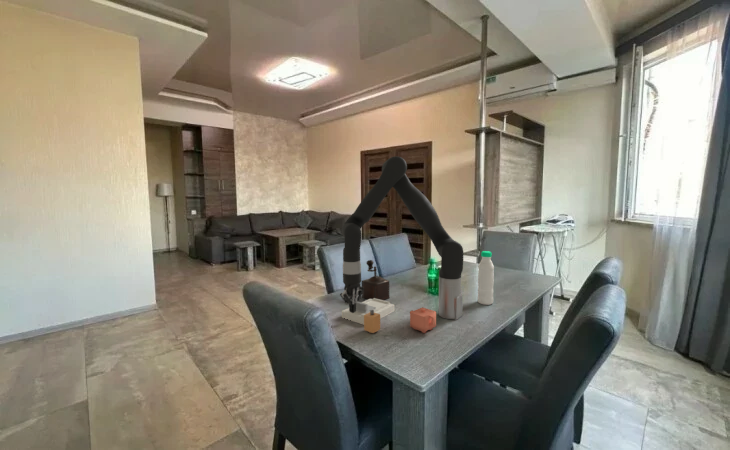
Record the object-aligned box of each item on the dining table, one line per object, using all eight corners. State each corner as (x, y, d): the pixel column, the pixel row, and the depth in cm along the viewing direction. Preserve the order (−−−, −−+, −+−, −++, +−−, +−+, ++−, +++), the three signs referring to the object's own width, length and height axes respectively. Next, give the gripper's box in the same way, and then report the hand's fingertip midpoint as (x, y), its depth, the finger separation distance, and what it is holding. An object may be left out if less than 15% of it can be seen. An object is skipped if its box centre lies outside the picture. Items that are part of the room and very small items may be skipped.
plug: (380, 331, 126) (380, 310, 125) (373, 335, 123) (373, 313, 122) (371, 328, 129) (371, 307, 128) (364, 332, 126) (363, 311, 125)
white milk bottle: (476, 304, 154) (477, 252, 152) (478, 299, 161) (479, 249, 158) (492, 306, 151) (493, 253, 149) (493, 301, 157) (495, 250, 155)
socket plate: (394, 311, 147) (394, 303, 147) (367, 325, 131) (366, 316, 131) (370, 304, 156) (370, 297, 155) (341, 317, 140) (341, 309, 140)
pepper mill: (391, 298, 165) (390, 263, 163) (375, 303, 158) (374, 267, 156) (370, 291, 177) (370, 258, 175) (355, 295, 169) (354, 262, 168)
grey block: (375, 309, 141) (375, 300, 141) (365, 313, 136) (365, 305, 136) (363, 305, 146) (363, 297, 145) (353, 310, 140) (352, 301, 140)
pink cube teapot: (416, 321, 135) (416, 302, 134) (440, 330, 126) (440, 310, 125) (403, 327, 130) (403, 307, 129) (428, 336, 121) (428, 315, 120)
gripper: (348, 276, 125) (349, 319, 127) (369, 269, 136) (369, 309, 138) (334, 273, 130) (335, 314, 132) (355, 267, 140) (356, 305, 142)
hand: (352, 312), depth 135 cm, fingers closed
